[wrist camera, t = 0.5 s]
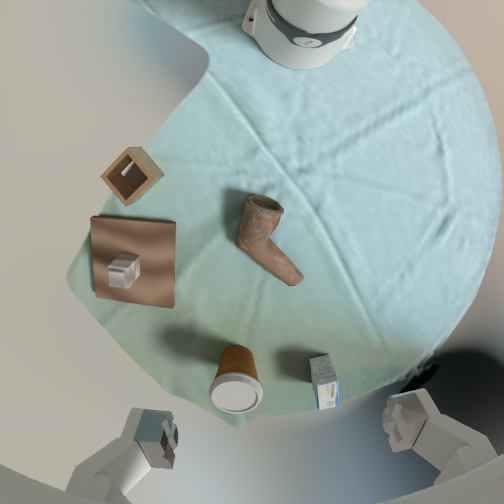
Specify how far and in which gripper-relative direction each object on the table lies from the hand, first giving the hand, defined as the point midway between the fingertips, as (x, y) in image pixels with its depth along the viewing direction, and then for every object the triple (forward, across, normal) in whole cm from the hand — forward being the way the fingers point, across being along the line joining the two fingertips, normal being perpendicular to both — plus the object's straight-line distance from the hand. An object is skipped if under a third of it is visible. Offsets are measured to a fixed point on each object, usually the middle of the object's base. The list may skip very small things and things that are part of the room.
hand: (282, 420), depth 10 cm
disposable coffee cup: (+44, +5, +32) cm, 54 cm away
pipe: (+44, -3, +7) cm, 45 cm away
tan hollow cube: (+44, +20, -6) cm, 48 cm away
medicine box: (+44, -12, +36) cm, 58 cm away
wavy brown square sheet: (+44, +23, +10) cm, 50 cm away
